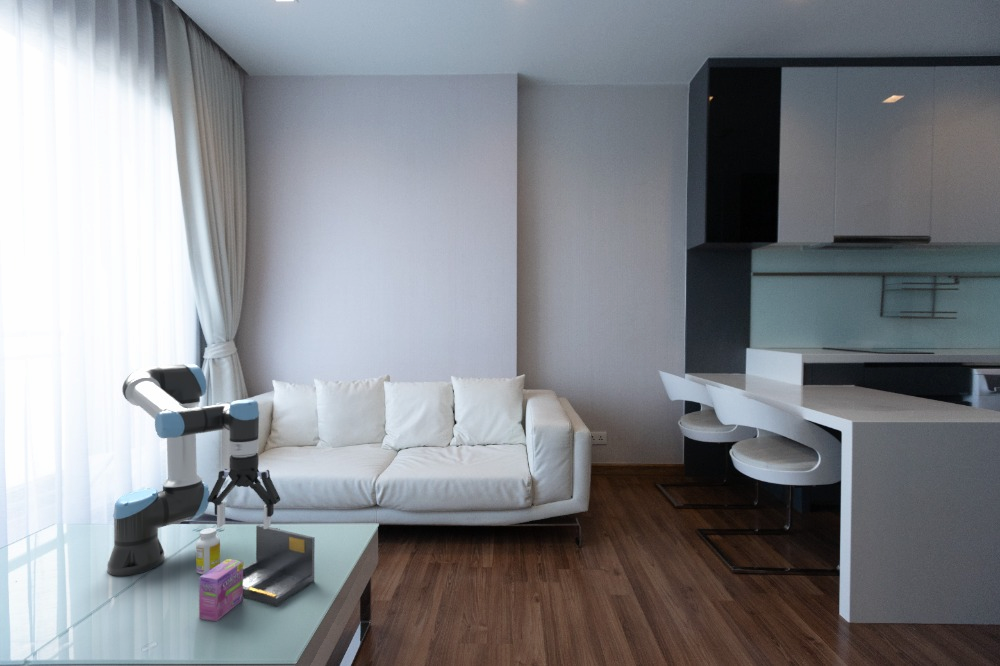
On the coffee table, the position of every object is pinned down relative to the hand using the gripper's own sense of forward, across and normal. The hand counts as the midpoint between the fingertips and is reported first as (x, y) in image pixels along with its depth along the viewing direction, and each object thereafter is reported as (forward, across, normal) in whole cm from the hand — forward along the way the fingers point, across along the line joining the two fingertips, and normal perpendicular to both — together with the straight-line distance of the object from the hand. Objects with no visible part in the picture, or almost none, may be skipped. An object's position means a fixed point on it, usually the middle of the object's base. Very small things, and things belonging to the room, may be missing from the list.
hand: (244, 526), depth 147 cm
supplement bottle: (+21, -20, +15) cm, 33 cm away
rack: (+21, +3, +7) cm, 23 cm away
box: (+22, -3, -6) cm, 22 cm away
